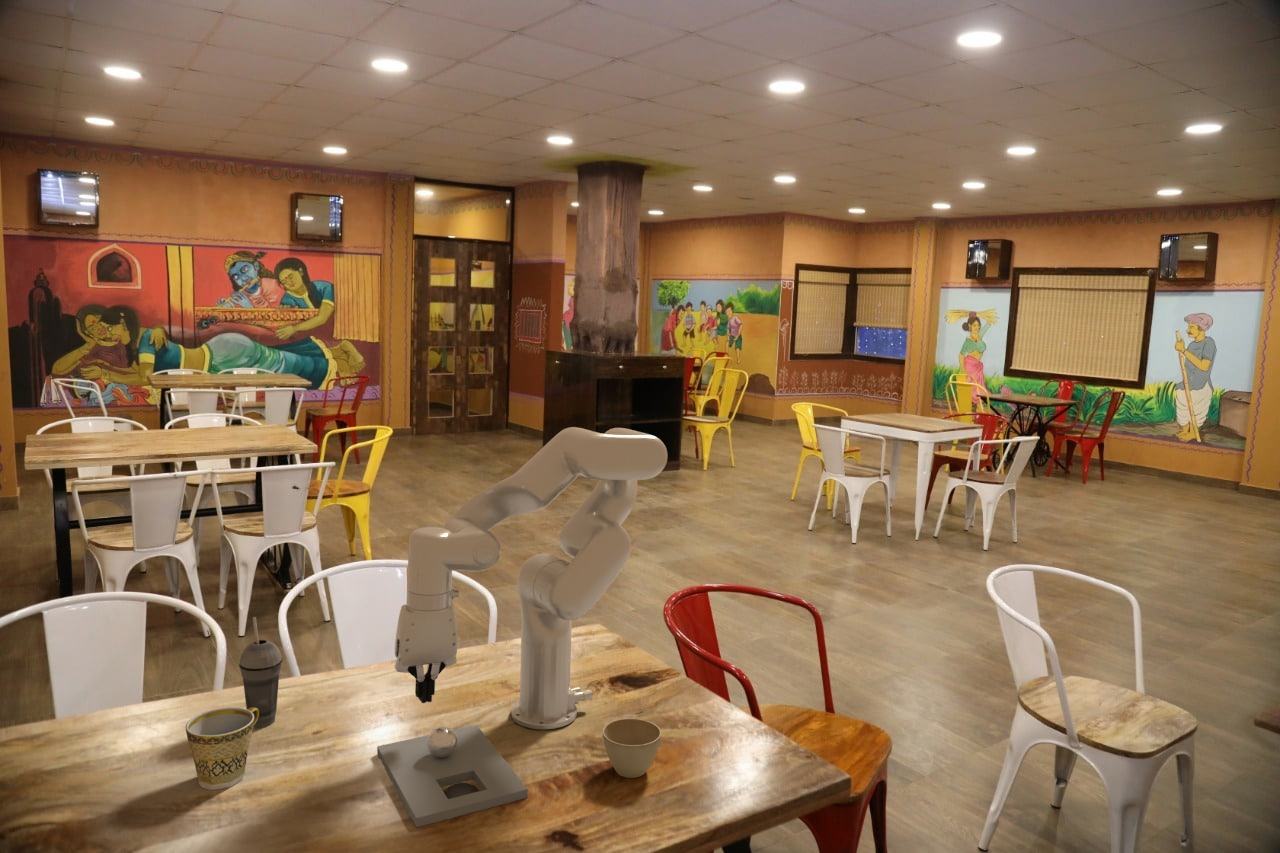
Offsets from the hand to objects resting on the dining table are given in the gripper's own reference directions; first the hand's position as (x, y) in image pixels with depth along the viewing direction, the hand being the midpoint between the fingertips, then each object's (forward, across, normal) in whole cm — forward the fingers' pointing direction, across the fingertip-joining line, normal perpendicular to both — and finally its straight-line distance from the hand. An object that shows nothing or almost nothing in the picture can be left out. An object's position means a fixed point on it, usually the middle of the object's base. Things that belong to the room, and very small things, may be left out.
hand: (424, 699), depth 153 cm
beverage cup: (+10, +24, -22) cm, 34 cm away
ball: (+5, -1, +7) cm, 9 cm away
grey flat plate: (+9, -1, +11) cm, 14 cm away
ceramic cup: (+10, +31, -5) cm, 33 cm away
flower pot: (+8, -29, +23) cm, 38 cm away
